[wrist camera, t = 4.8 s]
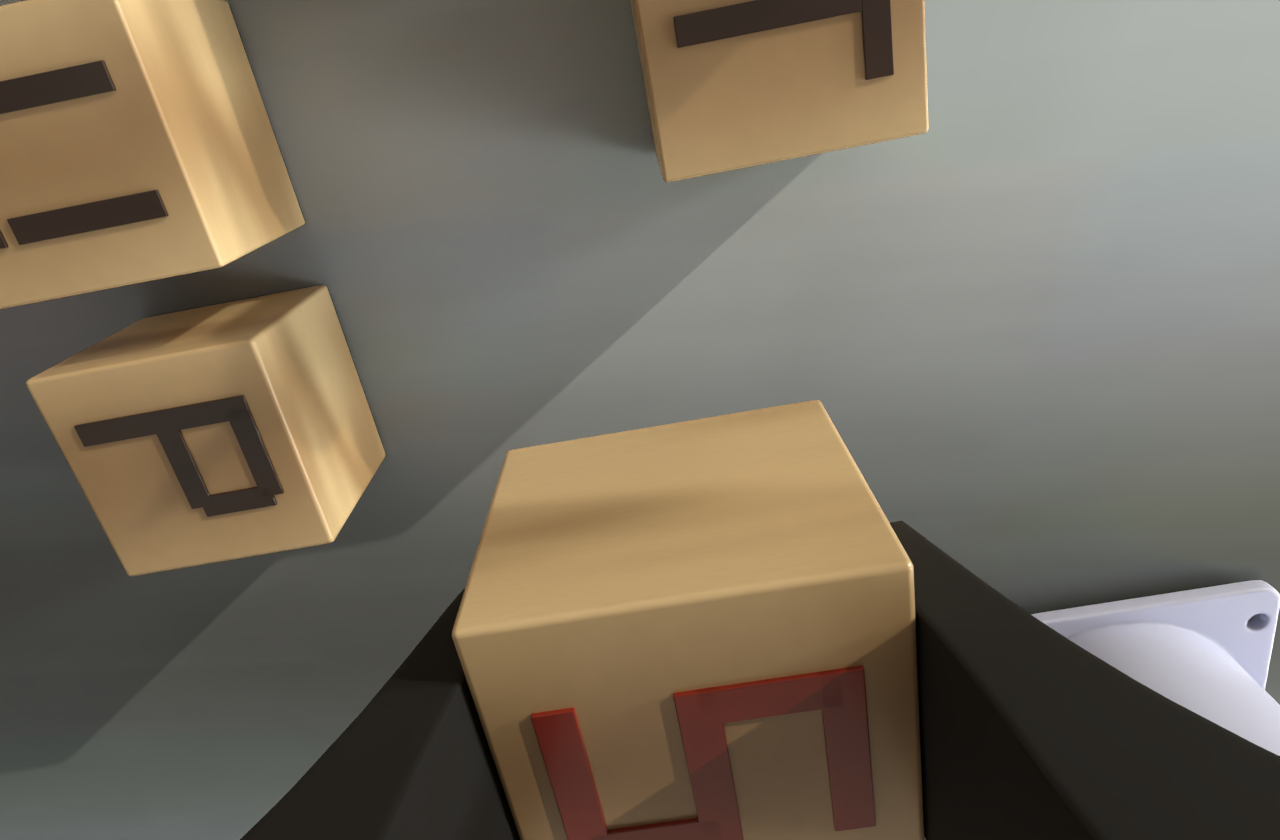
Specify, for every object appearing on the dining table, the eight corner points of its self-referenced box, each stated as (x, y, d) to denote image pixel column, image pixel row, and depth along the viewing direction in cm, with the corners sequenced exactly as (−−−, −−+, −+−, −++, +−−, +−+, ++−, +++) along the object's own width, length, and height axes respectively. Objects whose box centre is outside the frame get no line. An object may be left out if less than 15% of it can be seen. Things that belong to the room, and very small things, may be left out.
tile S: (842, 649, 12) (930, 888, 8) (570, 689, 12) (547, 937, 8) (820, 396, 10) (918, 565, 7) (504, 449, 10) (446, 638, 7)
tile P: (387, 455, 18) (332, 546, 15) (217, 485, 18) (125, 580, 15) (327, 283, 16) (250, 340, 13) (141, 317, 17) (19, 383, 13)
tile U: (307, 224, 16) (221, 267, 13) (115, 261, 16) (-19, 313, 13) (228, -1, 14) (107, -19, 11) (16, 44, 14) (-166, 40, 11)
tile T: (864, 117, 15) (931, 133, 12) (656, 156, 15) (664, 184, 12) (848, -132, 14) (921, -194, 10) (616, -83, 14) (613, -128, 10)
